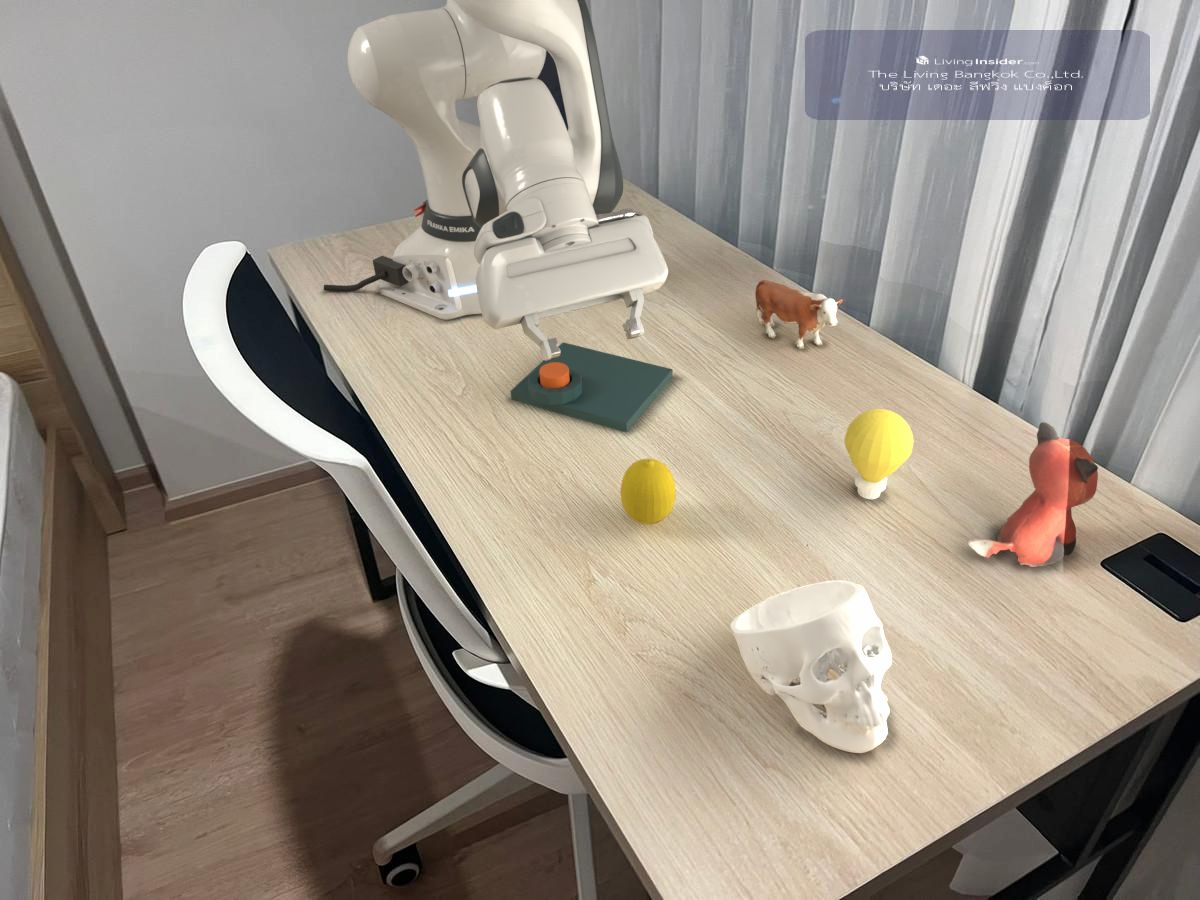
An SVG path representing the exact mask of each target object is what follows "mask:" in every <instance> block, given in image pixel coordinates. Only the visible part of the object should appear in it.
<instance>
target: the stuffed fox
mask: <svg viewBox="0 0 1200 900" xmlns="http://www.w3.org/2000/svg"><path fill="white" fill-rule="evenodd" d="M1036 439H1037V445H1036V447H1035V448H1033V450H1032V452H1031V453H1030V456H1029V459H1028V471H1029V475H1030V478H1031V482H1032V484H1033V487H1034V491H1033V492H1031V493H1030V495H1029V496H1028V497H1026V499H1024V501H1023V502H1022V504H1021V505H1020V507H1018V509H1016V510H1015V511H1014V512H1013V513H1012V514H1011V515H1010V516H1009V517H1008V518H1007V519H1006V521H1005V522H1003V524H1002V525H1000V527H998V528H997V529H996V532H997V535H996V540H993V539H989V538H972V537H970V538H969V540H968V543H967V544H968V546H969V547H970V548H971V549H972V550H973V551H974V552H975V553H976V554H978V555H979V556H981V557H984V558H987V559H989V558H990V557H991V556H993V555H997V554H998V553H999V552H1001V551H1007V550H1010V552H1014V553H1015V555H1016V556H1017V562H1018V563H1019V566H1023V565H1025V566H1029V567H1030V568H1036V567H1046V566H1048V565H1049V566H1050V565H1054V564H1056V563H1057V562H1059V561H1060V560H1061V559H1063V558H1064V557H1065V556H1070V555H1071V554H1072V553H1073V551H1074V550H1075V548H1076V544H1077V527H1076V524H1075V521H1074V519H1073V514H1072V513H1073V512H1072V508H1074V507H1077V506H1081V505H1083V504H1086V503H1088V502H1089V501H1091V500H1092V499H1093V498H1094V496H1095V494H1096V492H1097V488H1098V482H1099V481H1098V479H1099V471H1098V469H1099V467H1098V465H1097V464H1096V463H1095V461H1094V459H1093V458H1092V456H1091V454H1090V453H1089V451H1088V450H1087V449H1086V448H1085V447H1084V446H1083V445H1081V444H1080V442H1077V441H1075V440H1073V439H1069V438H1063V437H1062V438H1061V437H1059V436H1058V433H1057V430H1056V429H1055V428H1054V427H1053V426H1052V425H1051V424H1050V423H1048V422H1045V421H1042V422H1040V423H1039V424H1038V430H1037V433H1036Z"/></svg>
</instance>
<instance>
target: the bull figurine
mask: <svg viewBox="0 0 1200 900" xmlns="http://www.w3.org/2000/svg"><path fill="white" fill-rule="evenodd" d="M754 294H755V302H756V303H755V304H756V316H757V320H758V322H759V324H760V325H762V324H764V325H765V334H767V335H768V338H770V339H775V338H777V335H776V333H775V331H774V329H773V328H772V327H775V325H776V324H775V323H774V320H773V319H772V316H773V314H775V315H776V316H777V318H778V319H779V320H781V321H782V322H783V323H784V324H786V325H787V324H789V323H790V324H796V325H797V326H798V338H797V339H796V341H795V342H794V344H795V345H796V348H797V349H799V350H802V349H805V345H804V342H803V341H804V340H803V339H804V338H805V336H806V335H807V332H810V333H812V335H813V337H812V342H814V345H815V346H817V347H818V346H823V341H822V340H821V338H820V335H819V332H820V331H821V329H823V328H825V326H827V327H835V326H836V327H837V325H838V323H839V322H838V319H837V311H838V307H839V306H840V305H842V303H843V302H844V301H843V300H844V299H842V298H840V299H838V300H835V299H834V298H831V297H827V296H825V295H824V294H823V293H813V292H809V291H808V292H807V291H801V290H798V289H795V288H791V287H789V286H787V285H784V284H781V283H777V282H774V281H770V280H767V279H762V280H760V281H759V282H758V283H757V285H756V287H755V293H754Z"/></svg>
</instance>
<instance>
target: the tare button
mask: <svg viewBox="0 0 1200 900" xmlns="http://www.w3.org/2000/svg"><path fill="white" fill-rule="evenodd" d="M539 373H540V384H541V385H542V387H545V388H548V389H559V388H562V387H565V386H567V385H568V384H569V382H570V377H569V368H568V366H567V365H565V364H563V363H558V362H553V363H548V364H545V365H543V366H542V367H541V368H540V370H539Z"/></svg>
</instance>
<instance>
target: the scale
mask: <svg viewBox="0 0 1200 900" xmlns="http://www.w3.org/2000/svg"><path fill="white" fill-rule="evenodd" d="M557 346H558V347H559V348H560V352H561V354H560V356H559V357H558V358H554V359H551V360H547V361H545V360H544V359H543V360H542V361H541V362H540V363H539V364H538V365H537V366H535V368H534V369H532V370H531V371H530V372H529V373H527V375H526V376H525V377H524V378H523V379H522V380H521V381H520V382H519V383H517V384H516V385H514V387H513V388H512V389H510V398H511V401H514V402H517V403H521V404H524V405H528V406H531V407H535V408H537V409H538V408H539V409H542V410H544V411H545V410H546V411H549V412H553V413H557V414H560V415H563V416H566V417H571V418H574V419H578V420H581V421H585V422H587V423H591V424H595V425H598V426H602V427H604V428H605V427H606V428H609V429H612V430H616V431H619V432H623V433H628V432H629V430H631V428H632V427H633V426H634V425H635V424H636V422H637V421H638V420H639V419H640V418H641V416H642V415H643V414H644V413H645V412H646V411H647V409H648V408H649V407H650V406H651V404H652V403H653V402H654V401H655V400H656V399H657V398H658V396H659V395H660V394H661V393H662V391H663V390H664V389H665V388H666V387H667V386H668V384H669V383H670V382H671V380H672V379H673V369H672V368H668V367H665V366H661V365H657V364H654V363H649V362H645V361H641V360H636V359H633V358H628V357H626V356H625V357H624V356H620V355H616V354H613V353H608V352H604V351H601V350H597V349H593V348H587V347H583V346H580V345H575V344H571V343H567V342H561V344H560V345H559V344H558V345H557ZM553 362H558V363H563V364H565V365H567V366H568V368H569V377H570V382H569V384H568V385H567V386H565V387H562V388H559V389H548V388H545V387H542V385H541V384H540V373H539V370H540V368H541V367H542V366H543V365H545V364H548V363H553Z"/></svg>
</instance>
